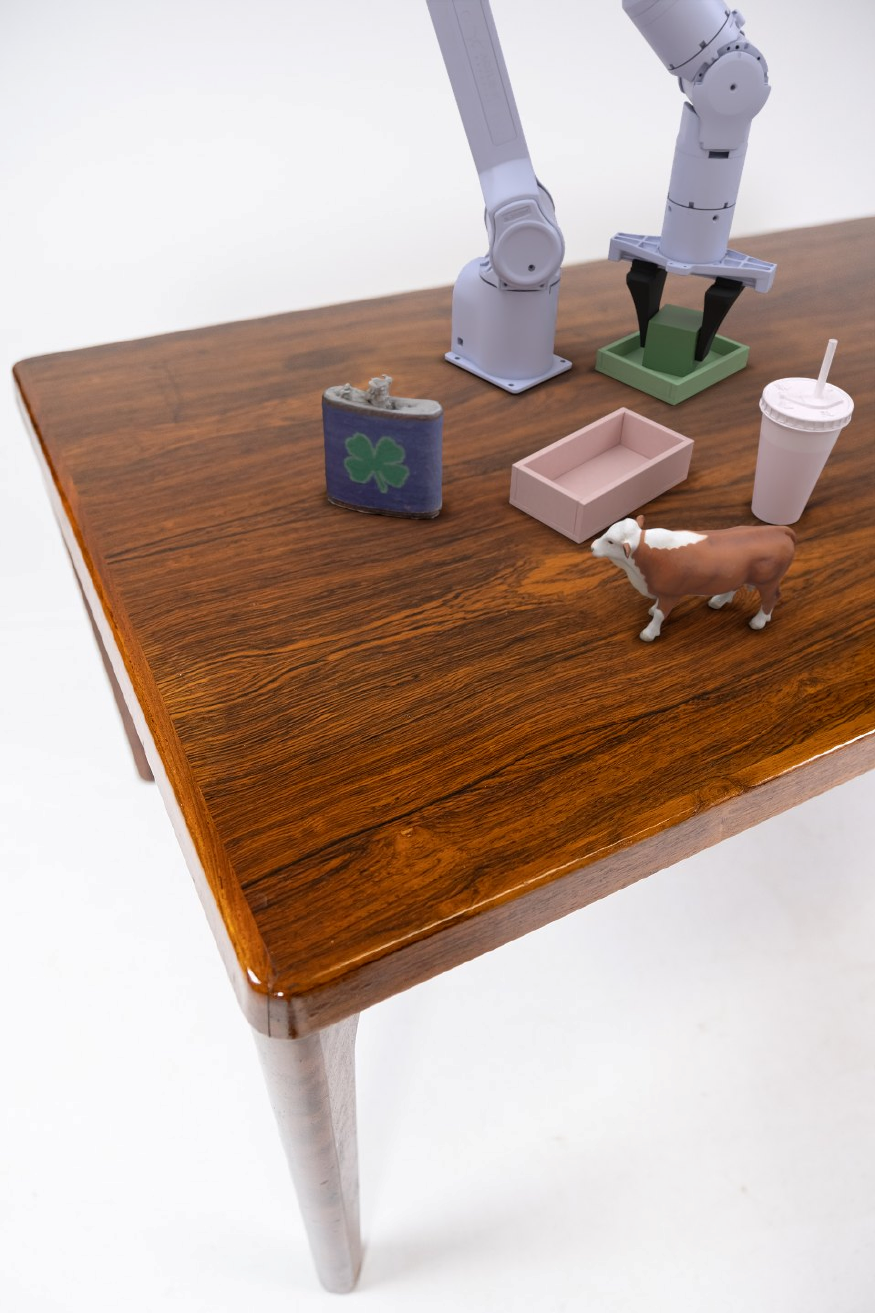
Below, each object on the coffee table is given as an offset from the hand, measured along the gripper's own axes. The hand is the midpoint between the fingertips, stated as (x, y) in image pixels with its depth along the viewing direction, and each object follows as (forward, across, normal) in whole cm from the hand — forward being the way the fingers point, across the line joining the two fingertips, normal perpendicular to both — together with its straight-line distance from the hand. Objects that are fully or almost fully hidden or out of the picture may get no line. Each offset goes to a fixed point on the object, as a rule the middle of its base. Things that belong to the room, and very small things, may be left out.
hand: (673, 350), depth 94 cm
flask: (+2, -12, -33) cm, 35 cm away
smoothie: (+2, +15, -18) cm, 24 cm away
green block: (+1, 0, 0) cm, 1 cm away
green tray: (+2, 0, 0) cm, 2 cm away
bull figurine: (+2, +13, -35) cm, 37 cm away
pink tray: (+2, +2, -23) cm, 23 cm away
